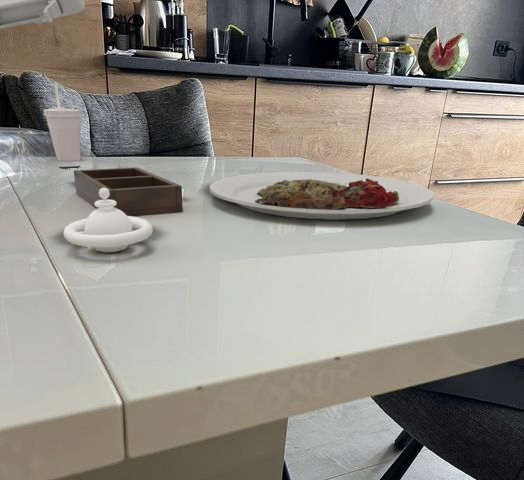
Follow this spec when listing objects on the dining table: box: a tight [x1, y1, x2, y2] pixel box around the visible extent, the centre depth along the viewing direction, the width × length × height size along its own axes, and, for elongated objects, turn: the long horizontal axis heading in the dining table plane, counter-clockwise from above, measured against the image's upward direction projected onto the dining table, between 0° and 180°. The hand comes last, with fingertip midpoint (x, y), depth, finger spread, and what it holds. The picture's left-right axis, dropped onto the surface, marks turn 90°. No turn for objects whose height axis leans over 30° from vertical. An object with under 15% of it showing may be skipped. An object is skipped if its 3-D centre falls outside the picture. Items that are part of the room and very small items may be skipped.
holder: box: [73, 166, 184, 217], centre depth 72 cm, size 9×17×3 cm, turn 29°
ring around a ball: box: [63, 188, 154, 253], centre depth 50 cm, size 8×6×8 cm
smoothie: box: [43, 81, 83, 170], centre depth 96 cm, size 6×6×14 cm
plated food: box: [208, 171, 435, 220], centre depth 74 cm, size 30×30×3 cm
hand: (17, 24), depth 91 cm, fingers open, 8 cm apart
